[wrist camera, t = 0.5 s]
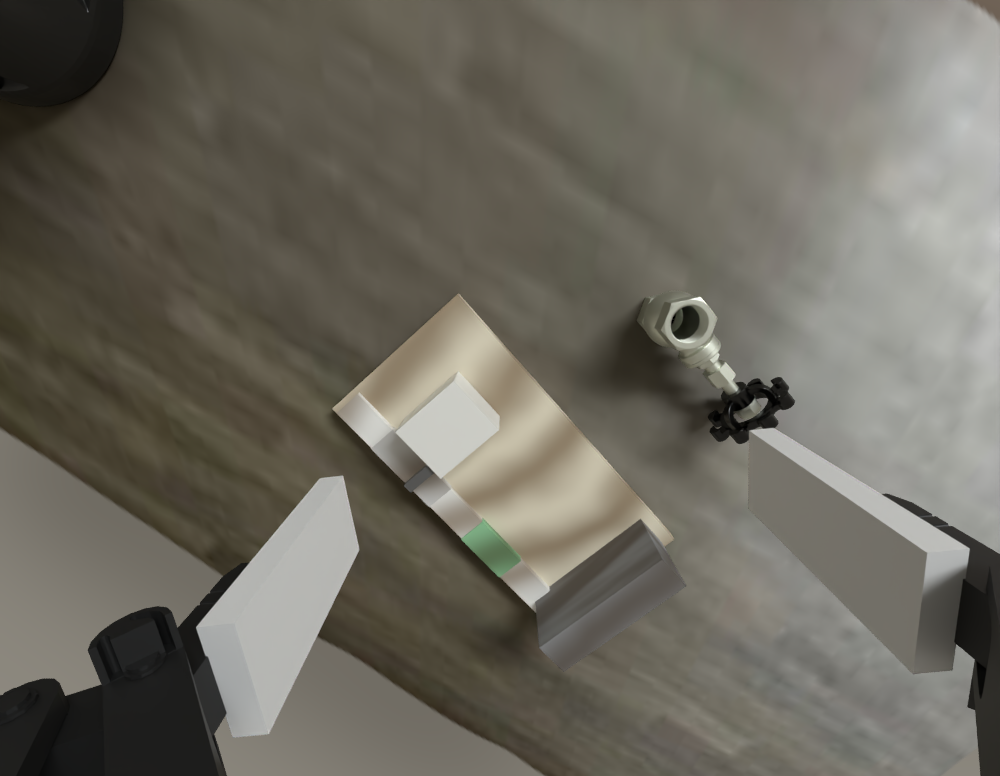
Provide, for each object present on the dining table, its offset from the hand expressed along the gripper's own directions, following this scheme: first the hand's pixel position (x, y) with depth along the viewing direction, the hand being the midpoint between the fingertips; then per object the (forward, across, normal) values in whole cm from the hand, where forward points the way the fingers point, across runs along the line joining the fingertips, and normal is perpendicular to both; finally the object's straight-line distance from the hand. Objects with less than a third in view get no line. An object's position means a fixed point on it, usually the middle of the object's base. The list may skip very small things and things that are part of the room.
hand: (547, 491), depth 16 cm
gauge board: (+25, -2, -10) cm, 27 cm away
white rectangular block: (+23, -7, -5) cm, 25 cm away
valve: (+25, +14, -2) cm, 29 cm away
